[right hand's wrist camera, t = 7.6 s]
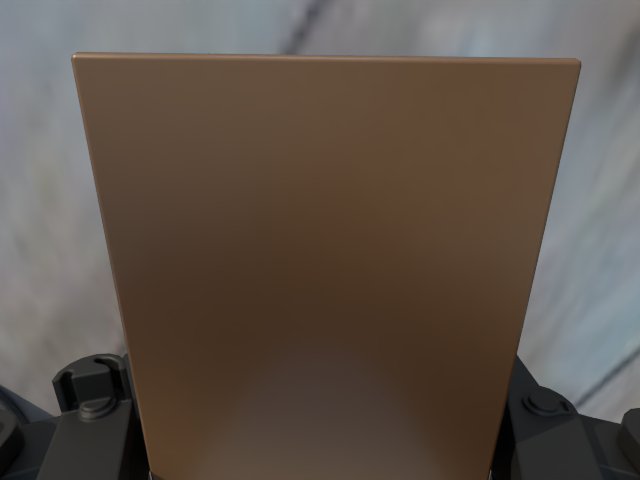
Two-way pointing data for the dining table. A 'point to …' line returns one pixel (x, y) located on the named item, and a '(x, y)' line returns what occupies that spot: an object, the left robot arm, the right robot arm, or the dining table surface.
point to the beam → (323, 252)
